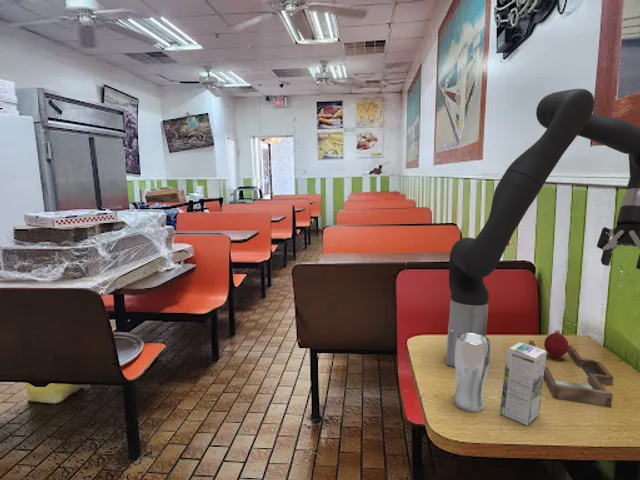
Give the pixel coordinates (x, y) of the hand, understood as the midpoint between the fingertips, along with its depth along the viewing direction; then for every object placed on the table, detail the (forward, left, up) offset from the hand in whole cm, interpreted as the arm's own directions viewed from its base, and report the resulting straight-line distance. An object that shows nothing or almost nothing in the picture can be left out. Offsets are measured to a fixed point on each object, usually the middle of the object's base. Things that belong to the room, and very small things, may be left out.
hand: (621, 267), depth 107 cm
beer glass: (-38, -36, -26) cm, 58 cm away
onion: (-14, -3, -26) cm, 30 cm away
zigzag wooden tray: (-14, -12, -26) cm, 32 cm away
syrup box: (-28, -37, -26) cm, 53 cm away
